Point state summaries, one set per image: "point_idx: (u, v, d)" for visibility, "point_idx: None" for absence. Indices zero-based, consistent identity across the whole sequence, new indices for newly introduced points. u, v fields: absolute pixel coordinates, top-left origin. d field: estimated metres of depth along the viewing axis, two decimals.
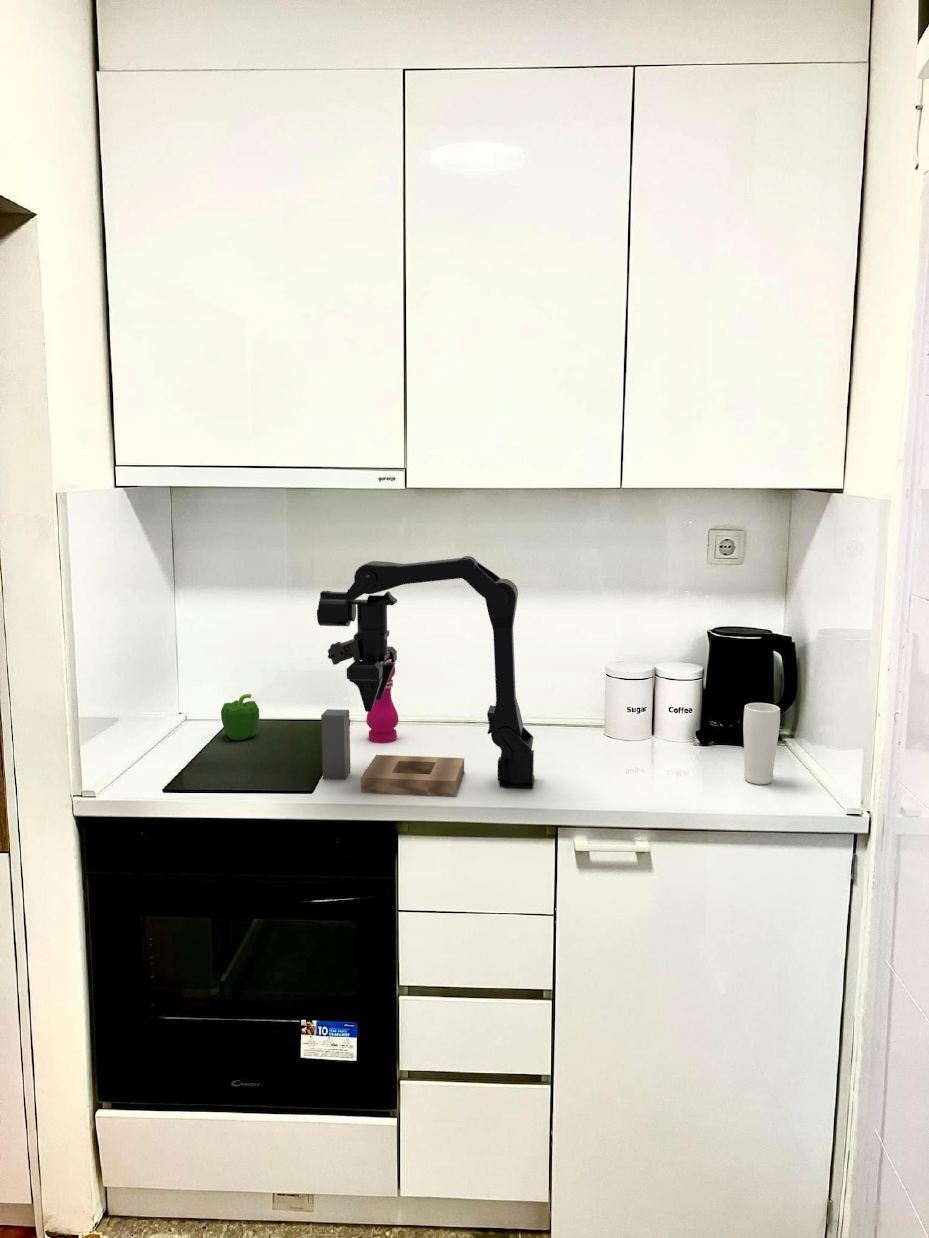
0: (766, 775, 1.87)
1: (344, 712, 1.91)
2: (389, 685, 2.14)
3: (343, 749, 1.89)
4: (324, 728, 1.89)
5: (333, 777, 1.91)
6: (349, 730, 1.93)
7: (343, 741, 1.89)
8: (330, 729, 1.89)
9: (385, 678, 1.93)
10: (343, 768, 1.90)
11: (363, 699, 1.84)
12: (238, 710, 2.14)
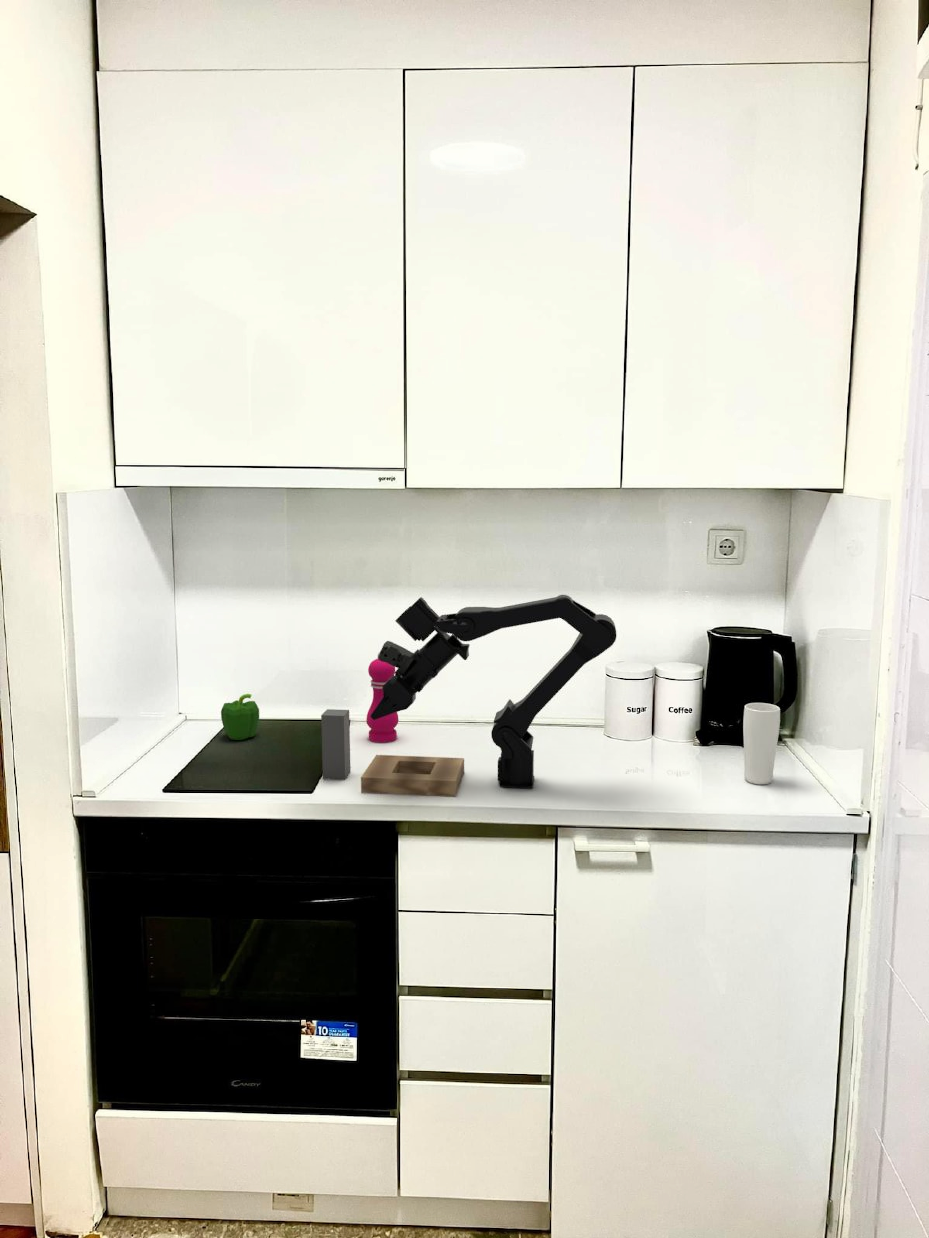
0: (766, 775, 1.87)
1: (344, 712, 1.91)
2: None
3: (343, 749, 1.89)
4: (324, 728, 1.89)
5: (333, 777, 1.91)
6: (349, 730, 1.93)
7: (343, 741, 1.89)
8: (330, 729, 1.89)
9: None
10: (343, 768, 1.90)
11: (377, 707, 1.84)
12: (238, 710, 2.14)
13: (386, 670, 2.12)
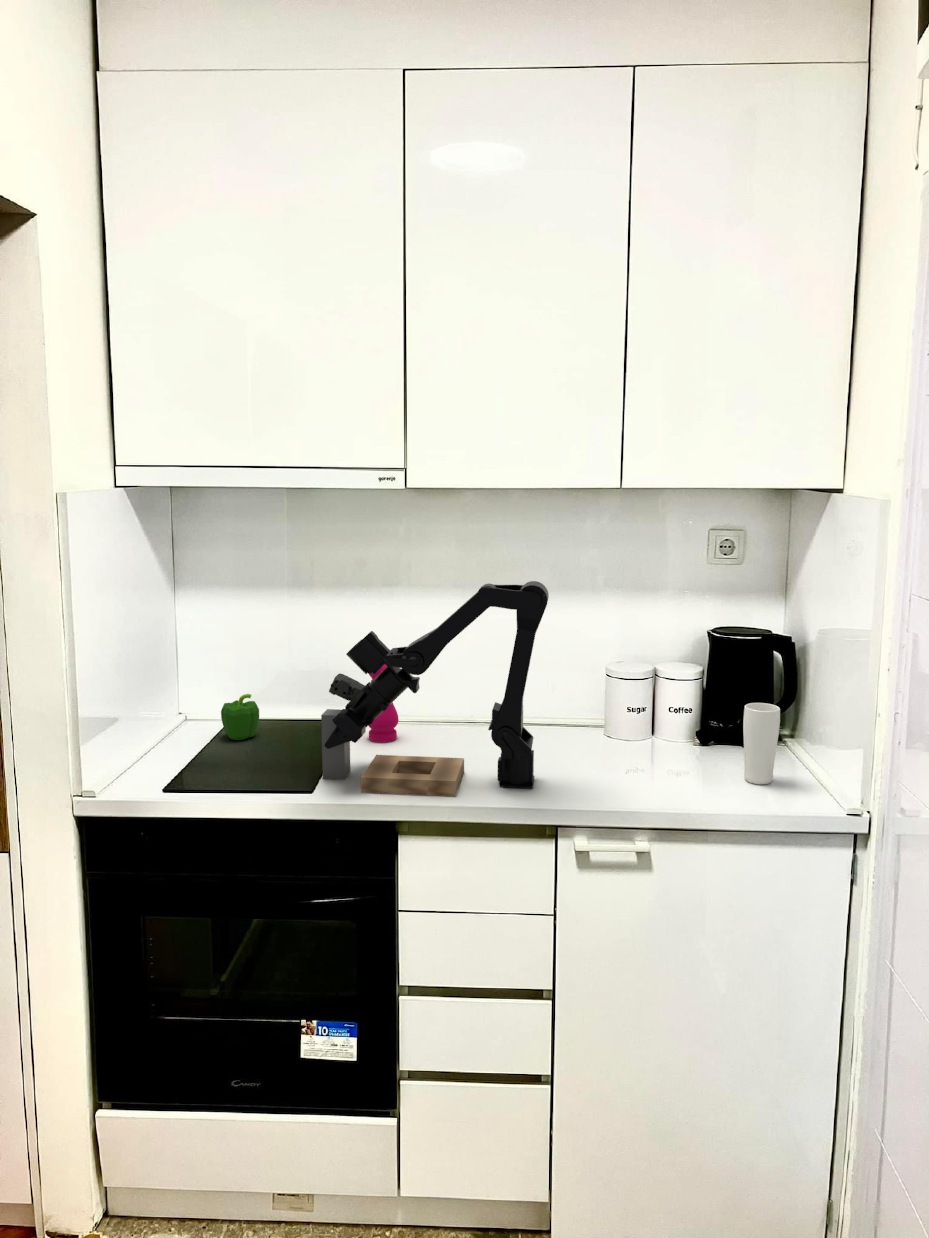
0: (766, 775, 1.87)
1: None
2: None
3: (343, 749, 1.89)
4: (324, 728, 1.89)
5: (333, 777, 1.91)
6: None
7: None
8: (330, 729, 1.89)
9: None
10: (343, 768, 1.90)
11: (331, 737, 1.88)
12: (238, 710, 2.14)
13: None
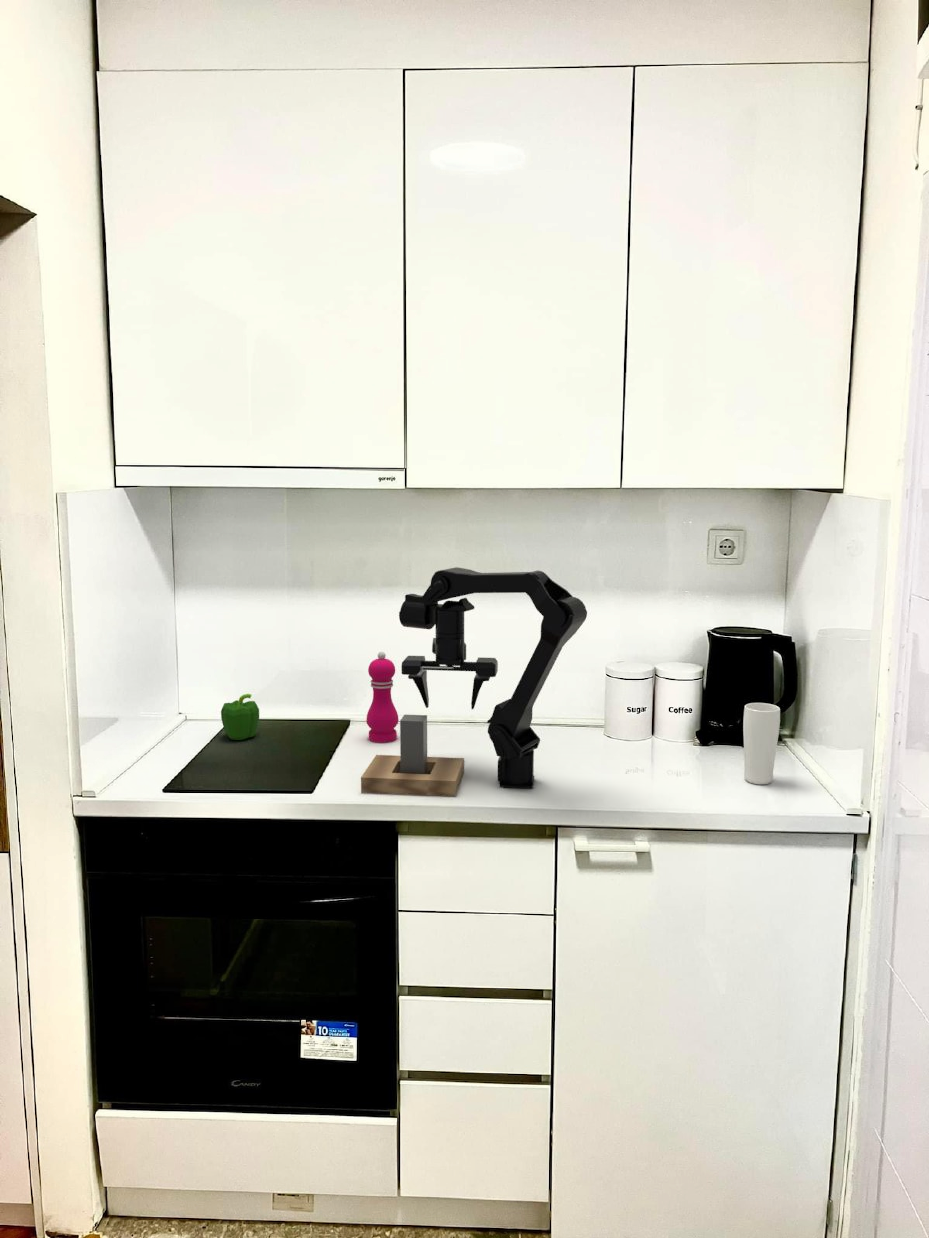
0: (766, 775, 1.87)
1: (423, 717, 1.87)
2: (389, 685, 2.14)
3: (422, 755, 1.85)
4: (403, 734, 1.85)
5: None
6: None
7: (422, 747, 1.85)
8: (409, 735, 1.85)
9: None
10: None
11: None
12: (238, 710, 2.14)
13: (386, 670, 2.12)
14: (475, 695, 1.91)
